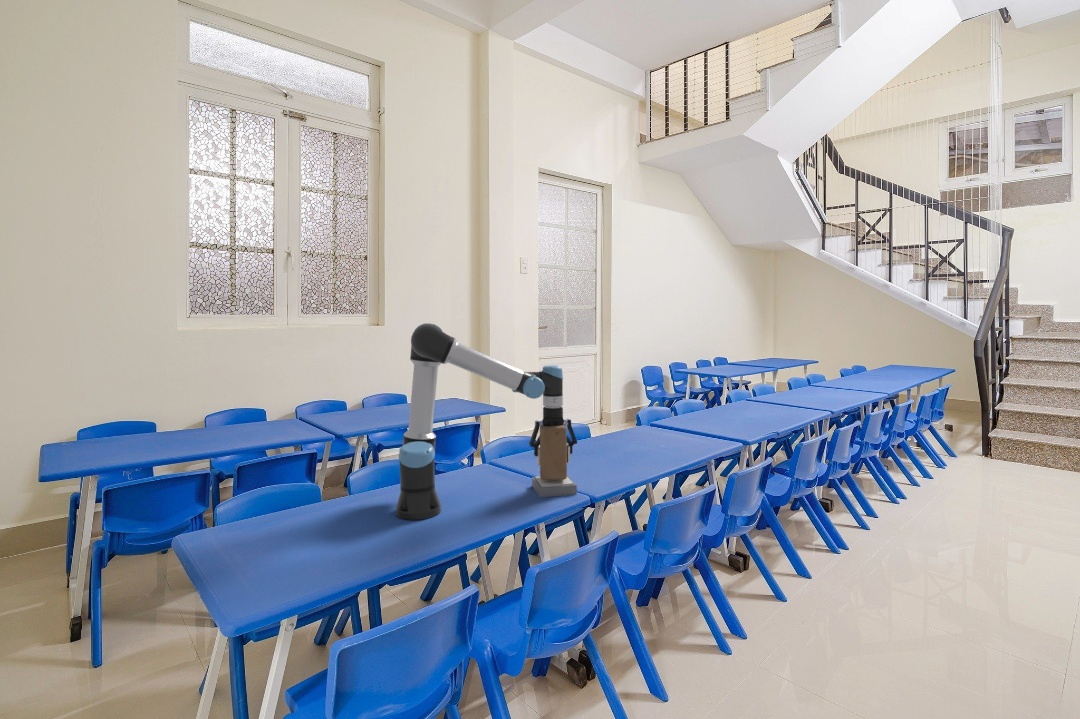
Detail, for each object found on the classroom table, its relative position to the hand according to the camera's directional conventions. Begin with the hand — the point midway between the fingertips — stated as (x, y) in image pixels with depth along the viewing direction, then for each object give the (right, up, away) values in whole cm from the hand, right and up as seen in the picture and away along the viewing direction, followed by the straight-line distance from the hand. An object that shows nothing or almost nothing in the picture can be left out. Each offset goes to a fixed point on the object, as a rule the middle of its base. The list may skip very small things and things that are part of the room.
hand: (553, 463), depth 219 cm
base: (0, -10, +1) cm, 10 cm away
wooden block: (0, -5, +1) cm, 5 cm away
